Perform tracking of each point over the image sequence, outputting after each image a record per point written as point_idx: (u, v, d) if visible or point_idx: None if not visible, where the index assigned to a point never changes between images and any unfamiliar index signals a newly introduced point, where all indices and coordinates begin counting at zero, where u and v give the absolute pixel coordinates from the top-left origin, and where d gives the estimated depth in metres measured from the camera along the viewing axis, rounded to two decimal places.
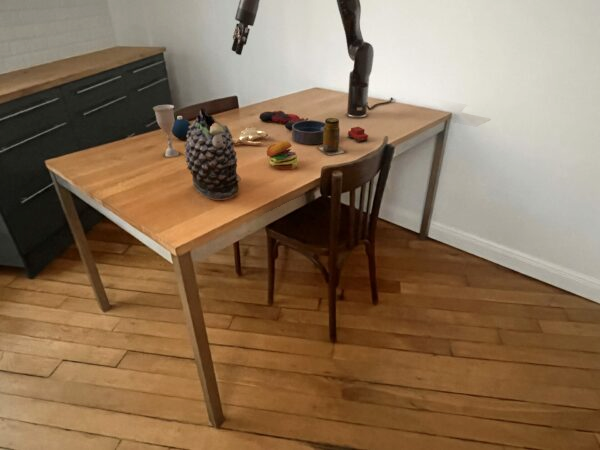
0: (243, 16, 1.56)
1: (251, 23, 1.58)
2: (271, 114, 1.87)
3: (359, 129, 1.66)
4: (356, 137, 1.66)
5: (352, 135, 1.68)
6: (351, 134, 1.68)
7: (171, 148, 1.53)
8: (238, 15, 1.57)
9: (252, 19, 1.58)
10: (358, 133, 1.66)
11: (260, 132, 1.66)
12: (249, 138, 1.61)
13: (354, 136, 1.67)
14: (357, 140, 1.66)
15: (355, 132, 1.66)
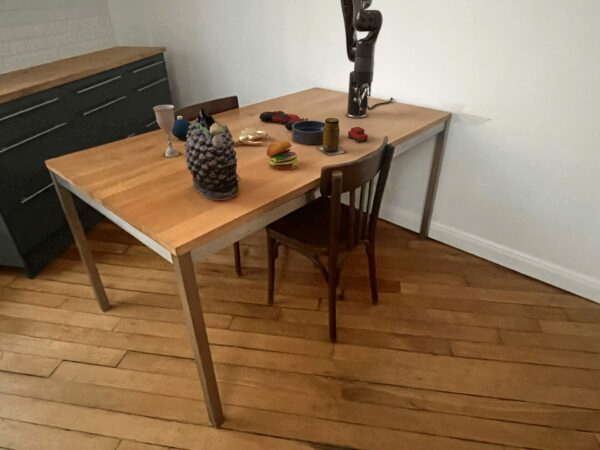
0: None
1: None
2: (271, 114, 1.87)
3: (359, 129, 1.66)
4: (356, 137, 1.66)
5: (352, 135, 1.68)
6: (351, 134, 1.68)
7: (171, 148, 1.53)
8: None
9: None
10: (358, 133, 1.66)
11: (260, 132, 1.66)
12: (249, 138, 1.61)
13: (354, 136, 1.67)
14: (357, 140, 1.66)
15: (355, 132, 1.66)
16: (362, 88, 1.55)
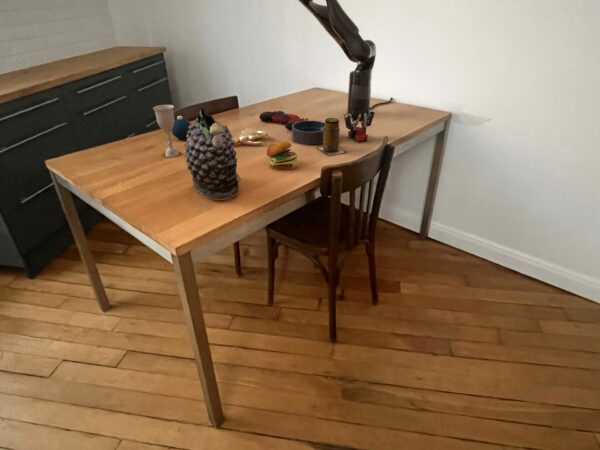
0: (351, 102, 1.61)
1: (357, 108, 1.59)
2: (271, 114, 1.87)
3: (359, 129, 1.66)
4: (356, 137, 1.66)
5: None
6: None
7: (171, 148, 1.53)
8: None
9: (357, 104, 1.58)
10: (358, 133, 1.66)
11: (260, 132, 1.66)
12: (249, 138, 1.61)
13: None
14: (357, 140, 1.66)
15: (355, 132, 1.66)
16: None
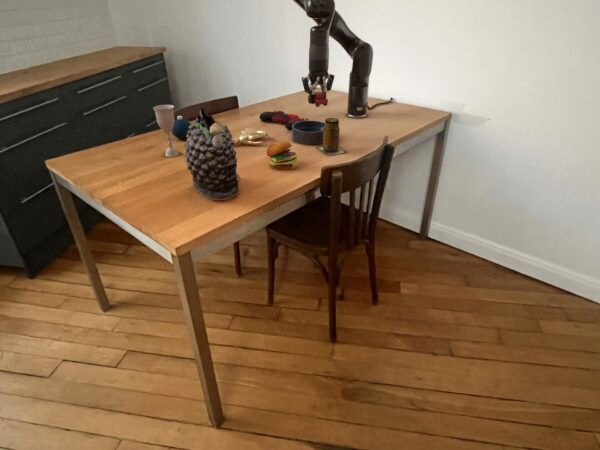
0: None
1: (314, 69, 1.51)
2: (271, 114, 1.87)
3: (319, 93, 1.59)
4: (315, 102, 1.58)
5: None
6: None
7: (171, 148, 1.53)
8: None
9: (315, 65, 1.51)
10: (317, 97, 1.58)
11: (260, 132, 1.66)
12: (249, 138, 1.61)
13: None
14: (316, 105, 1.58)
15: None
16: None
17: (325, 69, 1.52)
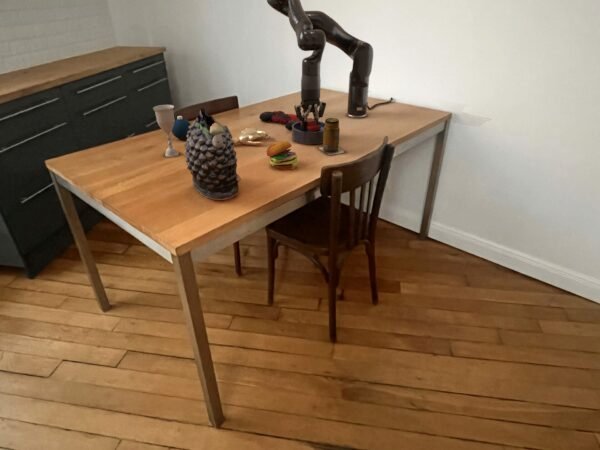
0: (301, 93, 1.59)
1: (306, 98, 1.57)
2: (271, 114, 1.87)
3: (311, 120, 1.65)
4: (307, 128, 1.64)
5: None
6: None
7: (171, 148, 1.53)
8: None
9: (307, 94, 1.56)
10: (309, 124, 1.64)
11: (260, 132, 1.66)
12: (249, 138, 1.61)
13: None
14: (308, 131, 1.64)
15: (307, 123, 1.64)
16: None
17: (317, 98, 1.58)
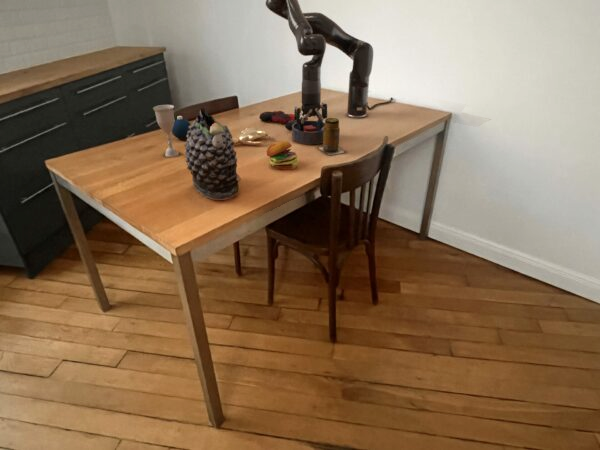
0: None
1: (307, 102, 1.58)
2: (271, 114, 1.87)
3: (311, 127, 1.66)
4: None
5: None
6: None
7: (171, 148, 1.53)
8: None
9: (307, 99, 1.57)
10: (310, 131, 1.66)
11: (260, 132, 1.66)
12: (249, 138, 1.61)
13: None
14: None
15: (307, 130, 1.66)
16: None
17: (317, 102, 1.59)
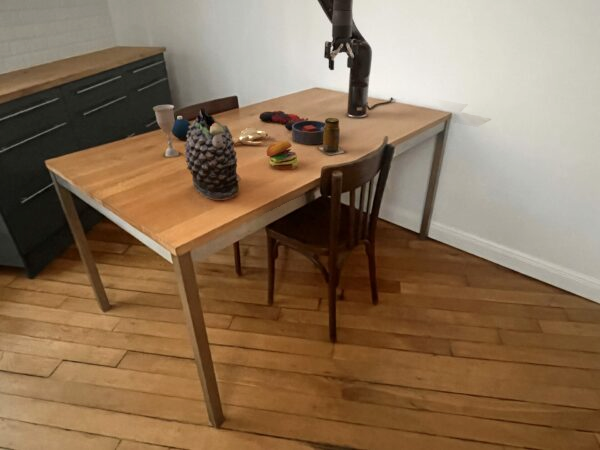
0: (332, 31, 1.54)
1: (338, 35, 1.52)
2: (271, 114, 1.87)
3: (311, 127, 1.66)
4: None
5: None
6: None
7: (171, 148, 1.53)
8: None
9: (339, 31, 1.51)
10: (310, 131, 1.66)
11: (260, 132, 1.66)
12: (249, 138, 1.61)
13: None
14: None
15: (307, 130, 1.66)
16: None
17: (349, 35, 1.52)
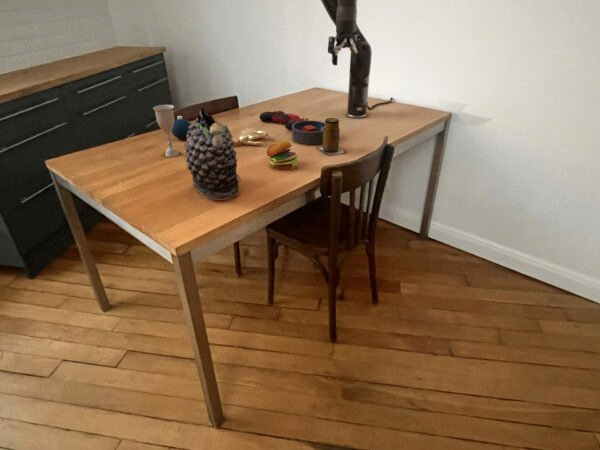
0: (336, 26, 1.54)
1: (342, 31, 1.52)
2: (271, 114, 1.87)
3: (311, 127, 1.66)
4: None
5: None
6: None
7: (171, 148, 1.53)
8: None
9: (342, 26, 1.51)
10: (310, 131, 1.66)
11: (260, 132, 1.66)
12: (249, 138, 1.61)
13: None
14: None
15: (307, 130, 1.66)
16: None
17: (353, 31, 1.53)
